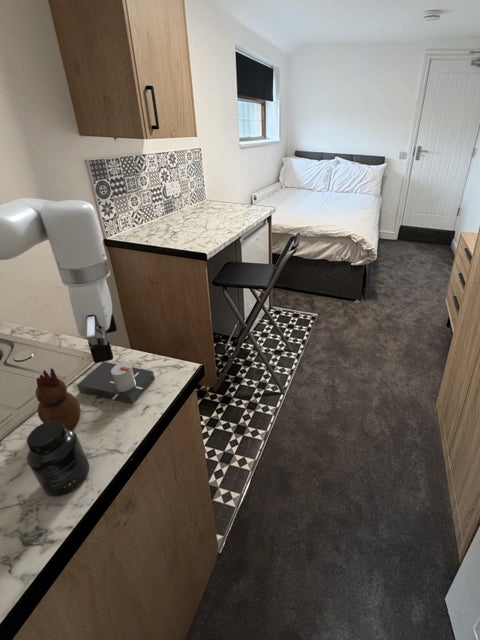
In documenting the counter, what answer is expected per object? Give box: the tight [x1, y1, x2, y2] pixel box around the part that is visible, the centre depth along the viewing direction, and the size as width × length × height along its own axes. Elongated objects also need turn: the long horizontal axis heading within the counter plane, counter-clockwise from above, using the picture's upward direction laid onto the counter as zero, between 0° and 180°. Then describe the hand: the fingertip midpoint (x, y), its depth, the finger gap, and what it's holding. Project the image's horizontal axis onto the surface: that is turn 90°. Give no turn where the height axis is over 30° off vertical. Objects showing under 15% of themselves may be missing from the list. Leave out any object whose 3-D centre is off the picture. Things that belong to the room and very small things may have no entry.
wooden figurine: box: [35, 368, 81, 430], centre depth 63 cm, size 7×6×15 cm
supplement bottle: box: [26, 420, 90, 498], centre depth 54 cm, size 7×7×12 cm
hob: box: [76, 361, 156, 405], centre depth 75 cm, size 15×10×3 cm, turn 77°
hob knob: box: [111, 361, 136, 392], centre depth 72 cm, size 4×4×5 cm
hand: (106, 345), depth 66 cm, fingers open, 9 cm apart
